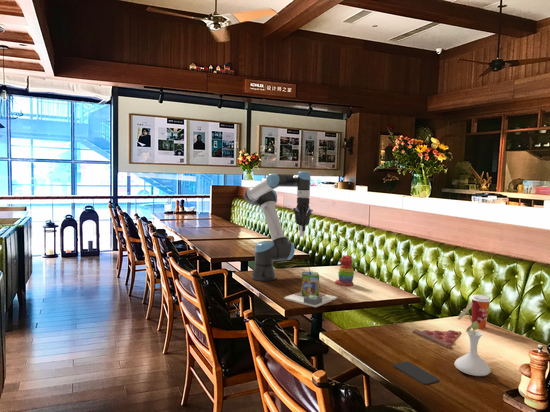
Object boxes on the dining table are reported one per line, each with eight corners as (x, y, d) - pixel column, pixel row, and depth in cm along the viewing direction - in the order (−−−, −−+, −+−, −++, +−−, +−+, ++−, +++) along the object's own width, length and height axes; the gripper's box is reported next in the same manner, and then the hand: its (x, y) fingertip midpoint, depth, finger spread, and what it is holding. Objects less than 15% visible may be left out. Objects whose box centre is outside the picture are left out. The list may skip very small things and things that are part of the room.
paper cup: (482, 331, 185) (484, 300, 184) (465, 325, 191) (467, 295, 190) (491, 327, 189) (493, 297, 188) (475, 322, 195) (477, 293, 194)
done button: (307, 300, 215) (307, 296, 215) (311, 299, 218) (311, 294, 218) (314, 302, 212) (314, 297, 212) (318, 300, 215) (319, 296, 215)
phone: (424, 384, 134) (391, 364, 147) (424, 386, 134) (391, 366, 148) (441, 379, 137) (407, 360, 151) (440, 382, 138) (407, 363, 151)
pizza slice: (411, 329, 180) (442, 322, 190) (411, 334, 180) (442, 327, 190) (448, 344, 164) (480, 336, 174) (447, 350, 164) (479, 342, 174)
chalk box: (318, 296, 225) (320, 269, 224) (301, 296, 225) (302, 269, 224) (317, 292, 234) (318, 266, 233) (301, 291, 234) (302, 265, 233)
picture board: (284, 299, 222) (284, 292, 222) (306, 291, 239) (306, 285, 239) (315, 307, 210) (315, 300, 210) (336, 298, 226) (337, 292, 226)
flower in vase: (468, 361, 153) (472, 294, 151) (497, 375, 143) (502, 303, 141) (443, 368, 147) (448, 298, 145) (472, 383, 137) (477, 308, 135)
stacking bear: (348, 281, 264) (350, 253, 263) (357, 285, 255) (358, 257, 253) (333, 282, 260) (334, 254, 259) (341, 287, 251) (342, 257, 250)
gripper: (290, 196, 252) (289, 235, 253) (308, 198, 244) (307, 238, 245) (298, 196, 258) (296, 234, 259) (315, 197, 249) (314, 236, 251)
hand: (301, 236), depth 252 cm, fingers closed
